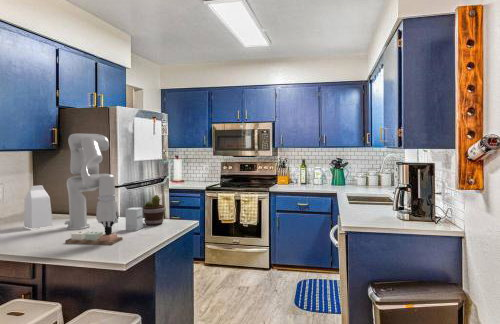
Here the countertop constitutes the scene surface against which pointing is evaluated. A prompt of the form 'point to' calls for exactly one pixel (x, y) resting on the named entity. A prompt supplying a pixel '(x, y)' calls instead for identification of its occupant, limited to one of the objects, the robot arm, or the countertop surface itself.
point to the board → (94, 241)
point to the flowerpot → (153, 211)
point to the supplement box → (134, 219)
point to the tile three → (108, 237)
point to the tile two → (93, 235)
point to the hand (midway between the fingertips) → (108, 234)
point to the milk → (37, 208)
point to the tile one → (79, 235)
